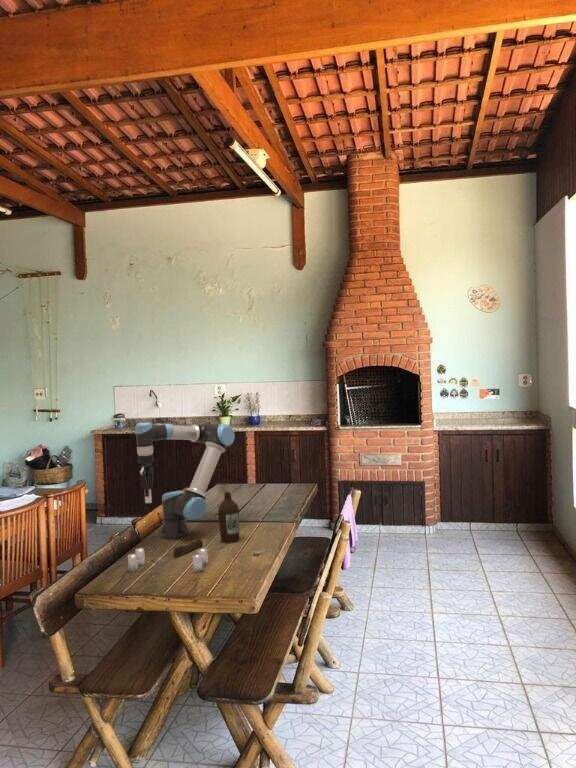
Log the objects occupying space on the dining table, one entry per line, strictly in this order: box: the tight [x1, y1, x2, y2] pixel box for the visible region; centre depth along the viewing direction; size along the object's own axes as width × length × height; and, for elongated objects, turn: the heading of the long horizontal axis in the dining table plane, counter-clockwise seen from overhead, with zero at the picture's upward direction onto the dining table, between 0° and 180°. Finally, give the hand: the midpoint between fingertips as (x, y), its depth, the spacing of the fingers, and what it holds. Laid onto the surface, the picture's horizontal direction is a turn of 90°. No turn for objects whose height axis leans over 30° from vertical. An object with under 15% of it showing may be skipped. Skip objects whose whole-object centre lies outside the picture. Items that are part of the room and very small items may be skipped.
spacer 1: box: [127, 553, 139, 573], centre depth 255 cm, size 4×4×7 cm
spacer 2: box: [134, 547, 146, 567], centre depth 263 cm, size 4×4×7 cm
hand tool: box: [173, 538, 204, 559], centre depth 277 cm, size 19×4×5 cm, turn 147°
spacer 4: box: [197, 547, 209, 566], centre depth 258 cm, size 4×4×7 cm
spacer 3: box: [192, 553, 203, 573], centre depth 250 cm, size 4×4×7 cm
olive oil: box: [217, 490, 240, 544], centre depth 292 cm, size 11×11×25 cm
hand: (148, 502), depth 279 cm, fingers closed
